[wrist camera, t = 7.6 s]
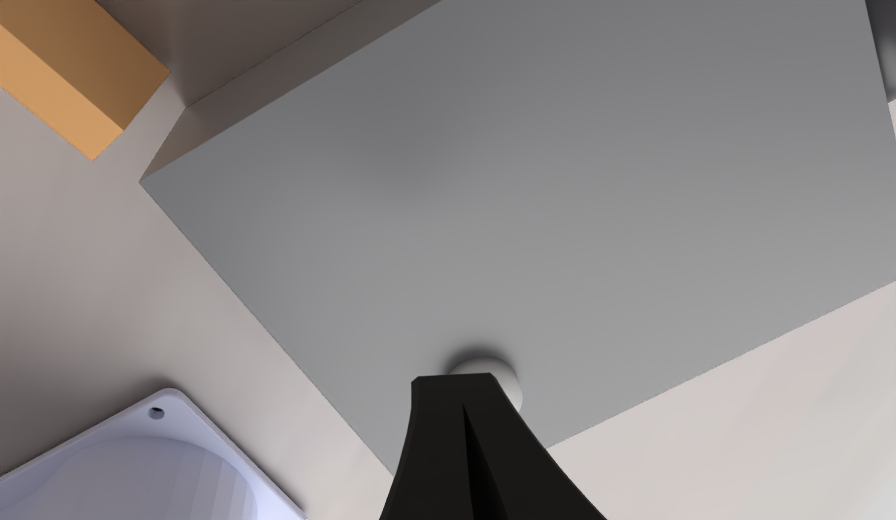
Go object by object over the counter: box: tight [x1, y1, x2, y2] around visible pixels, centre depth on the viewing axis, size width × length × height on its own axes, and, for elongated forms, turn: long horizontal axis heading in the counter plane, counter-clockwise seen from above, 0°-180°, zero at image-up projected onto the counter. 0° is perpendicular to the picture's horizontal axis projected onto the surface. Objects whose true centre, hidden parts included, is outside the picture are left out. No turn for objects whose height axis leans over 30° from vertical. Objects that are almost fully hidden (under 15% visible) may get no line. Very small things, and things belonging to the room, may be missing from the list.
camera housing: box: [139, 0, 896, 477], centre depth 19 cm, size 17×12×6 cm
